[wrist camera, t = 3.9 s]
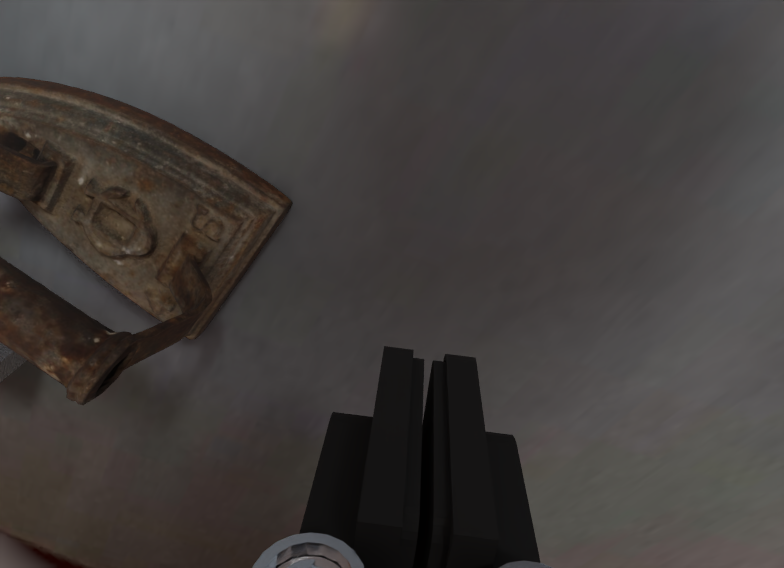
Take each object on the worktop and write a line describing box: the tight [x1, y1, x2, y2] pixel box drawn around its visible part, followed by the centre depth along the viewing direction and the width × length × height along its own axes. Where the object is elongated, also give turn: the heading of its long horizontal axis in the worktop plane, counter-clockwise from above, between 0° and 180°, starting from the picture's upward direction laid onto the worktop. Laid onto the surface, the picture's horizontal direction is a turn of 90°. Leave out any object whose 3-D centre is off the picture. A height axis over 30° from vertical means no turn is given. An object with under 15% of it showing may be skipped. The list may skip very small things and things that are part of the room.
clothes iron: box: [0, 77, 292, 405], centre depth 17 cm, size 7×11×10 cm, turn 54°
